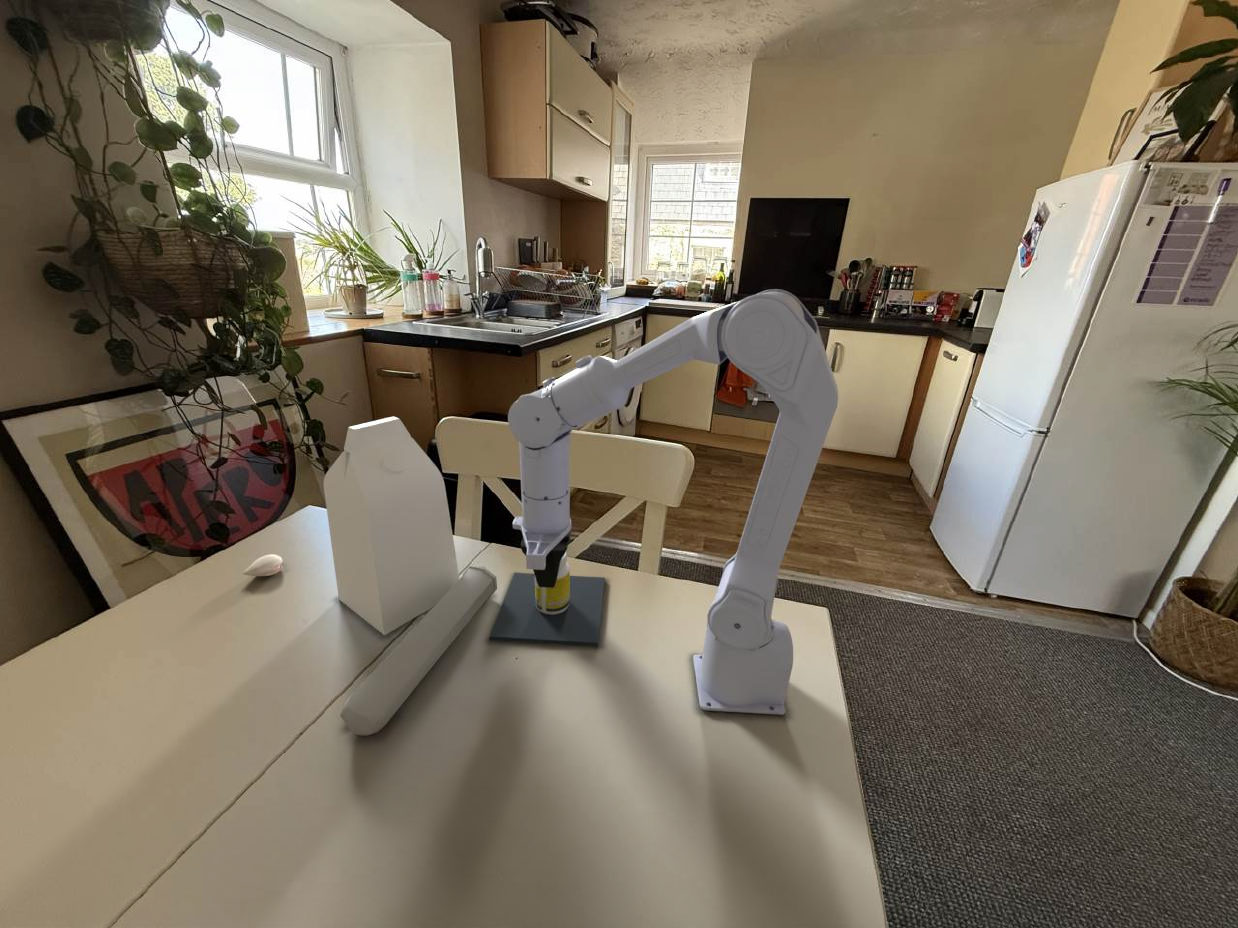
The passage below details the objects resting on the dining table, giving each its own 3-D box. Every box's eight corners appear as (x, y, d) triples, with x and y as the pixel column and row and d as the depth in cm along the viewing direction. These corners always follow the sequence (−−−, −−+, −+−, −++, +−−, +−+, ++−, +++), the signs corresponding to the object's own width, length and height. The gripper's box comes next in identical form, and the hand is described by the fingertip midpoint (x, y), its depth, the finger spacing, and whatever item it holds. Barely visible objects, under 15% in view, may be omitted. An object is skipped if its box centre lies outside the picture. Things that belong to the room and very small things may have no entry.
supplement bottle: (575, 600, 71) (576, 550, 68) (558, 619, 67) (558, 567, 64) (547, 590, 73) (546, 541, 69) (528, 608, 69) (526, 557, 65)
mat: (604, 580, 76) (604, 577, 76) (598, 646, 64) (598, 642, 63) (514, 575, 77) (514, 572, 76) (489, 640, 64) (489, 636, 63)
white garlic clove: (288, 572, 75) (285, 558, 74) (249, 587, 71) (245, 573, 70) (279, 561, 77) (275, 547, 76) (240, 575, 74) (236, 560, 73)
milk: (415, 561, 79) (393, 404, 69) (461, 590, 73) (445, 421, 63) (338, 599, 70) (300, 423, 60) (384, 635, 64) (350, 446, 54)
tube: (379, 724, 47) (501, 575, 70) (331, 698, 48) (468, 558, 70) (372, 755, 50) (493, 601, 72) (327, 730, 50) (460, 585, 73)
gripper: (524, 464, 65) (527, 551, 71) (496, 517, 52) (502, 620, 57) (577, 466, 65) (576, 554, 71) (563, 520, 52) (563, 623, 57)
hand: (547, 584), depth 64 cm, fingers closed
